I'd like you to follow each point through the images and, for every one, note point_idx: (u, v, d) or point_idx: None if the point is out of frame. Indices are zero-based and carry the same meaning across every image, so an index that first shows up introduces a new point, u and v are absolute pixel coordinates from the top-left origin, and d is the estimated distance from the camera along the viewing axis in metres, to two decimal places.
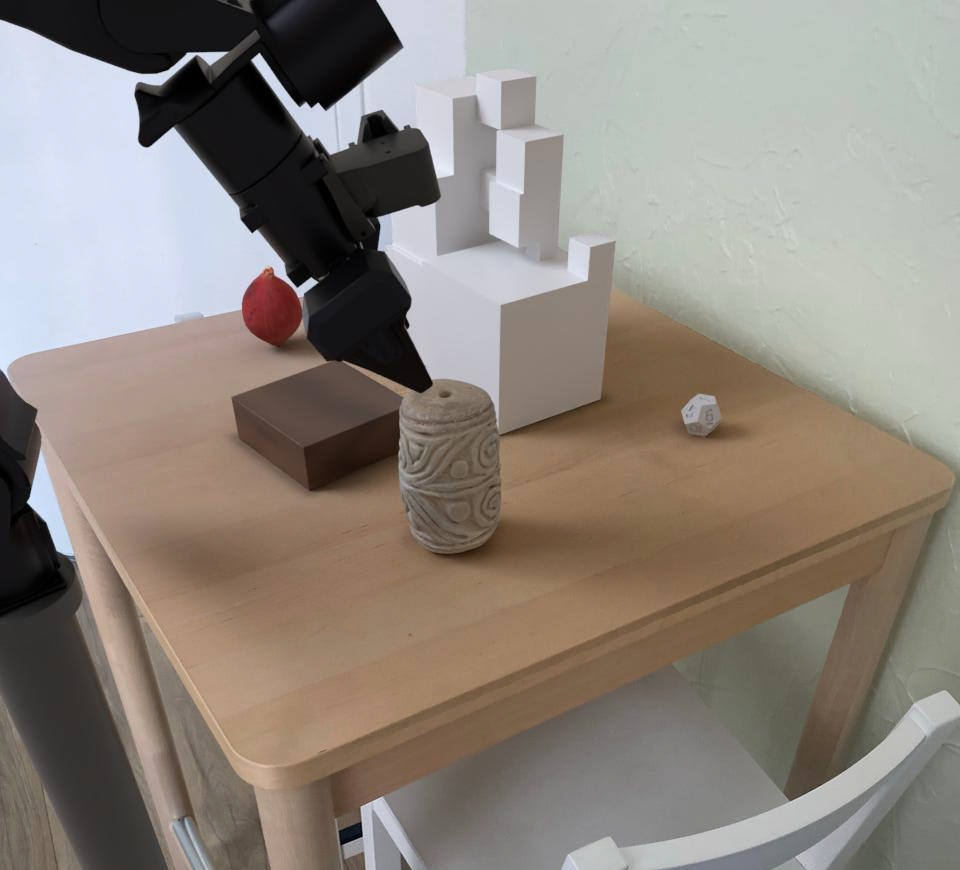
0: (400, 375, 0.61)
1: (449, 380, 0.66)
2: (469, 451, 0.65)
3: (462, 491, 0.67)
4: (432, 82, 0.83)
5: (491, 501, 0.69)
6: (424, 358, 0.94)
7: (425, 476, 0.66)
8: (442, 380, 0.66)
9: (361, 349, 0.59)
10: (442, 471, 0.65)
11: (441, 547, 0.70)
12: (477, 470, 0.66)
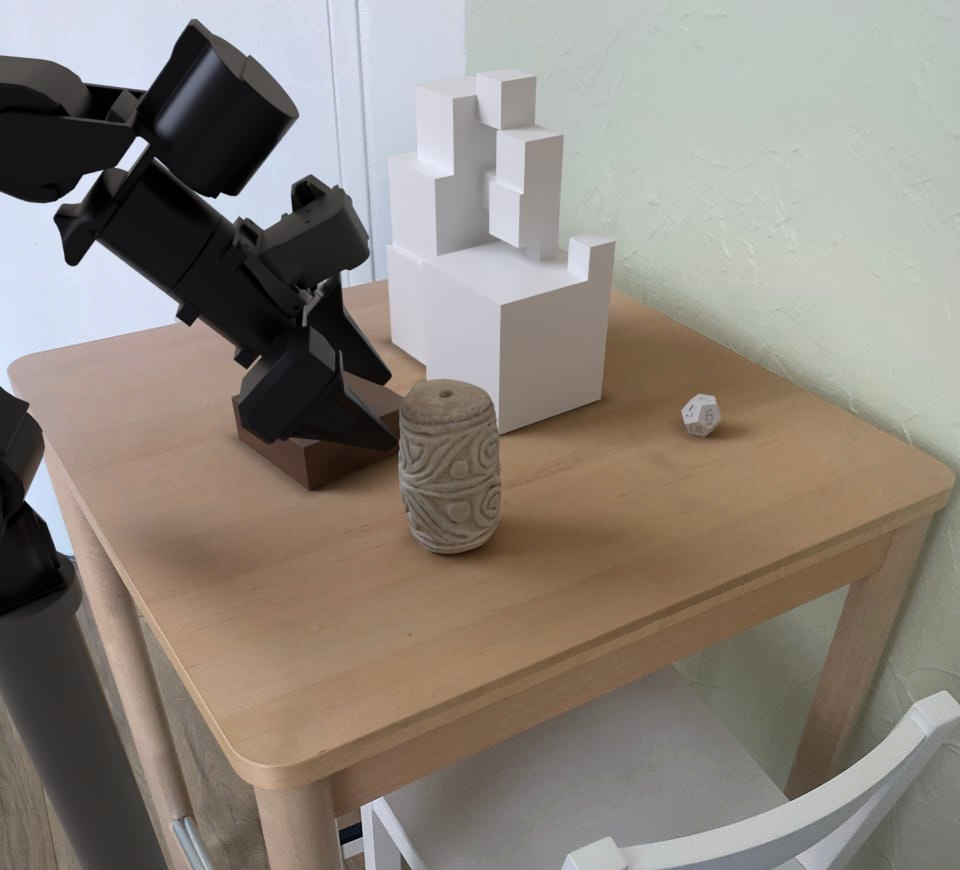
0: (359, 439, 0.60)
1: (449, 380, 0.66)
2: (469, 451, 0.65)
3: (462, 491, 0.67)
4: (432, 82, 0.83)
5: (491, 501, 0.69)
6: (424, 358, 0.94)
7: (425, 476, 0.66)
8: (442, 380, 0.66)
9: (309, 423, 0.58)
10: (442, 471, 0.65)
11: (441, 547, 0.70)
12: (477, 470, 0.66)
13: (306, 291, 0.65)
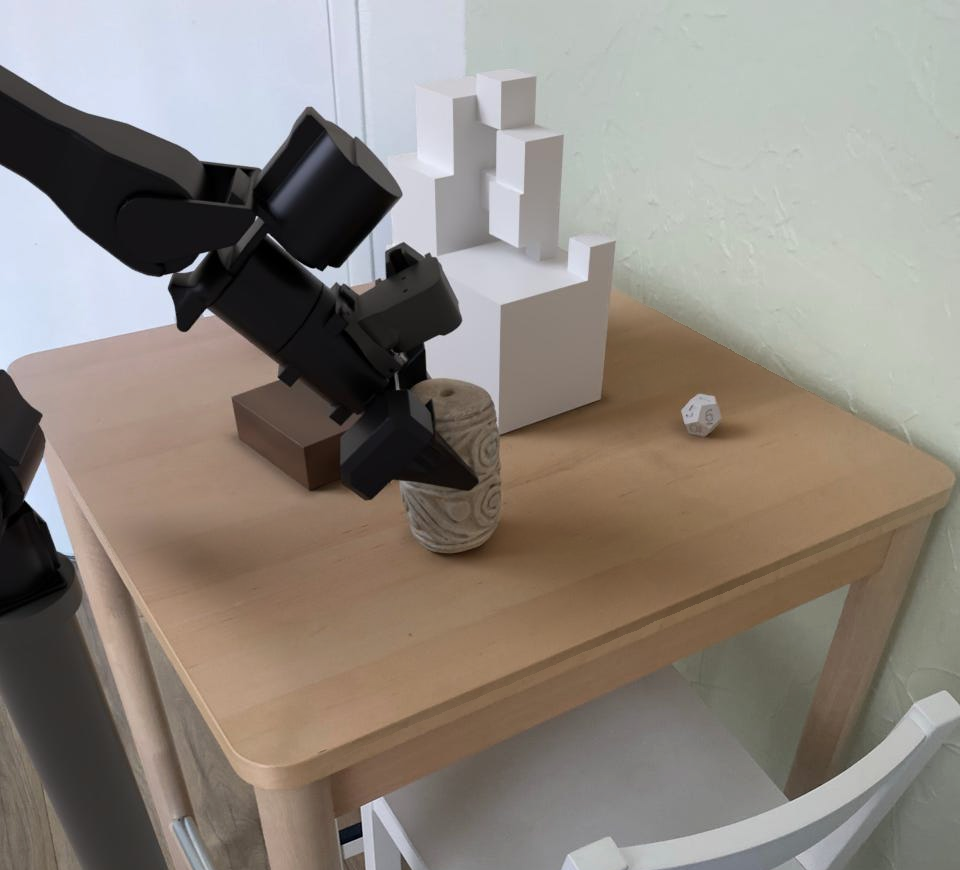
0: (444, 480, 0.65)
1: (449, 379, 0.66)
2: (469, 449, 0.65)
3: None
4: (432, 82, 0.83)
5: (491, 500, 0.69)
6: None
7: None
8: (442, 379, 0.66)
9: None
10: None
11: (441, 546, 0.70)
12: (477, 469, 0.66)
13: None
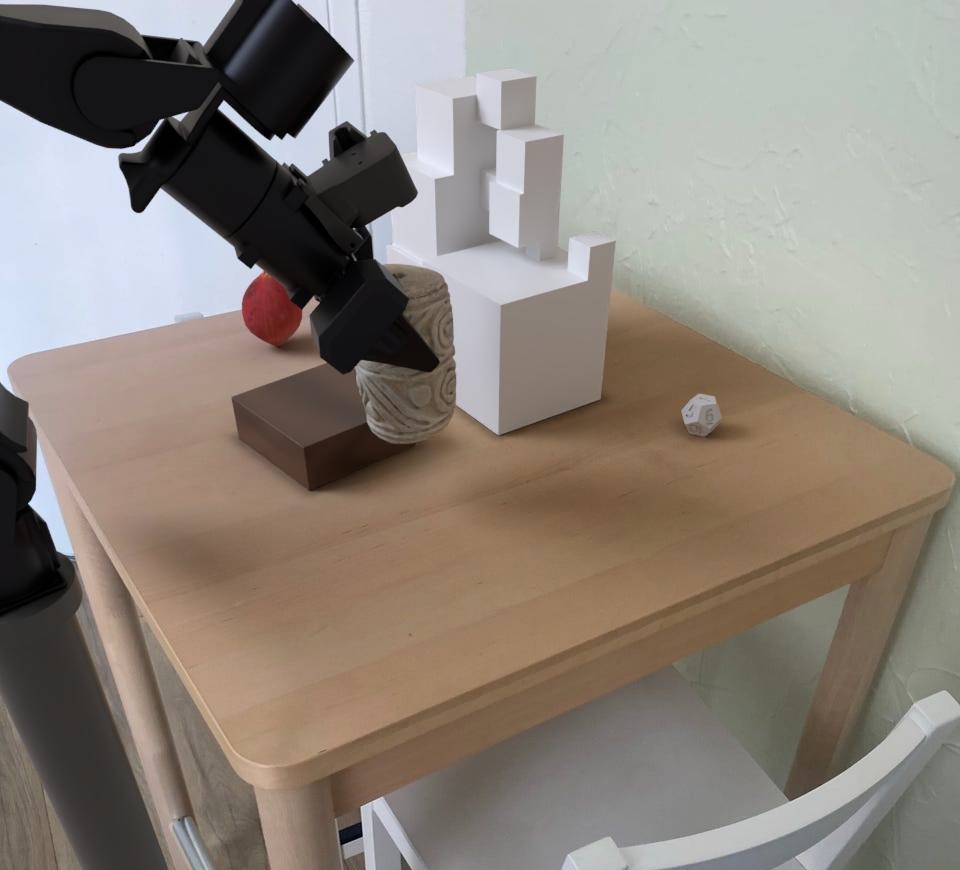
0: (408, 360, 0.65)
1: (399, 264, 0.67)
2: (429, 329, 0.66)
3: (424, 373, 0.67)
4: (432, 82, 0.83)
5: (449, 385, 0.70)
6: None
7: None
8: (392, 264, 0.67)
9: None
10: None
11: (403, 436, 0.71)
12: (437, 350, 0.67)
13: None
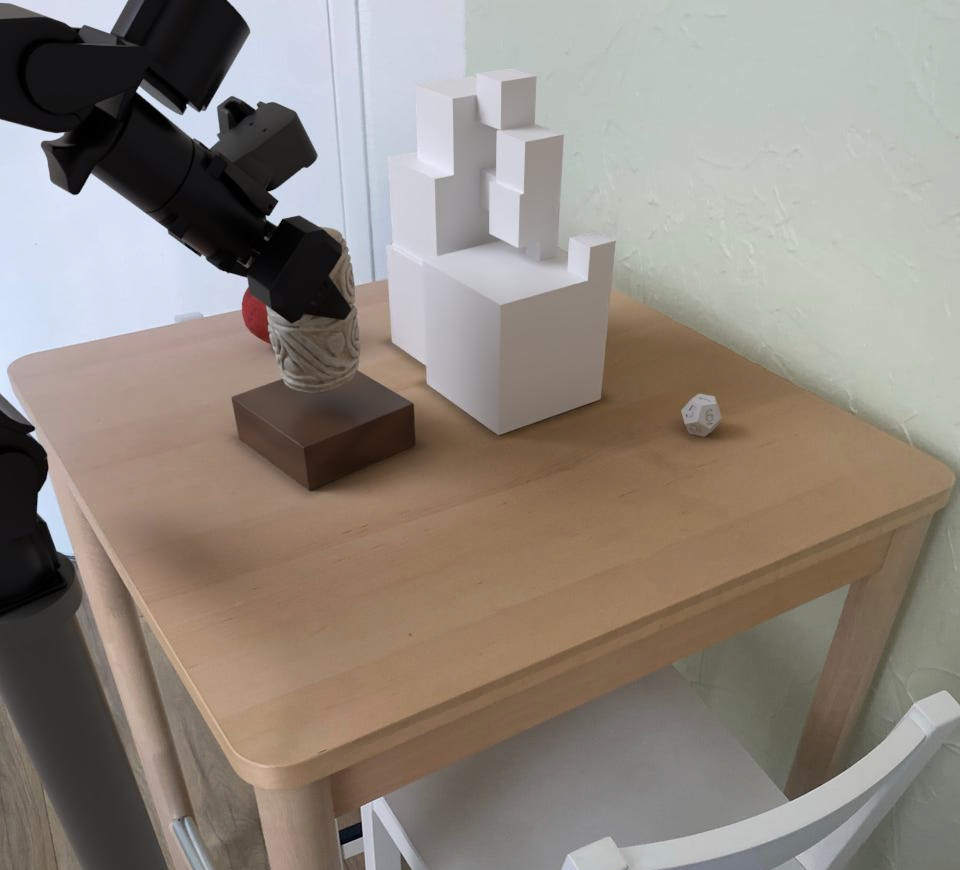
0: (327, 309, 0.72)
1: None
2: (338, 280, 0.72)
3: (338, 321, 0.74)
4: (432, 82, 0.83)
5: (356, 331, 0.77)
6: (424, 358, 0.94)
7: None
8: None
9: None
10: None
11: (324, 384, 0.77)
12: (346, 298, 0.74)
13: None
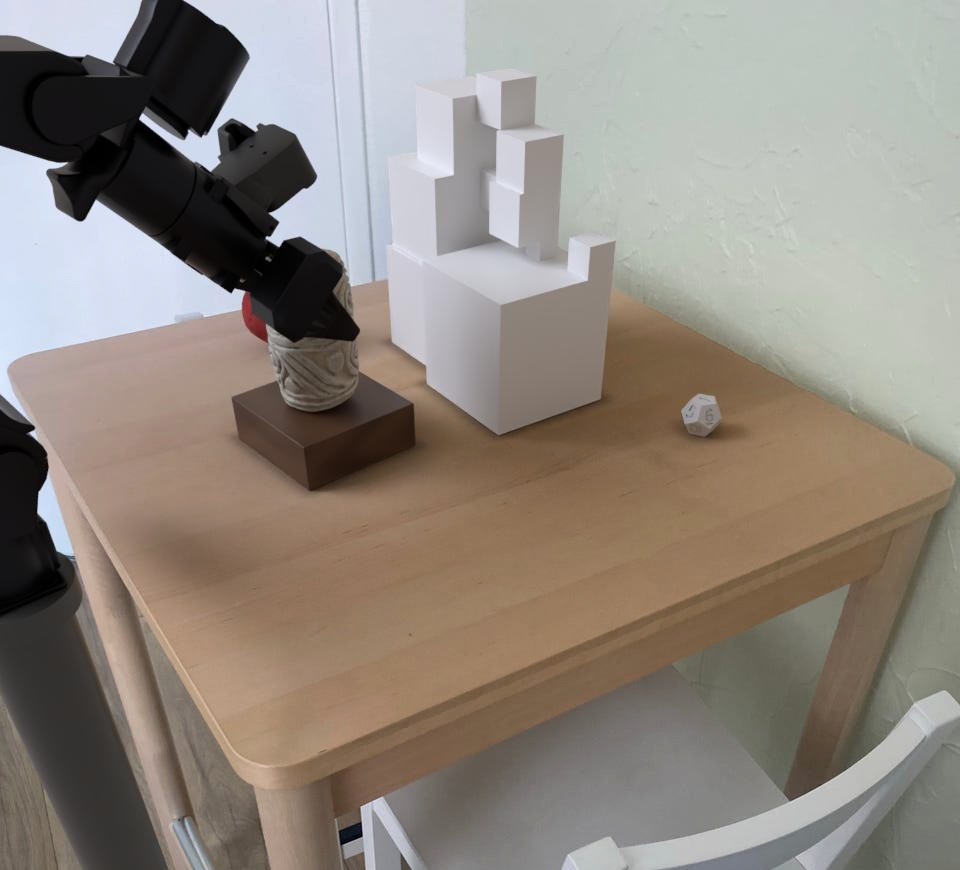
0: (336, 332, 0.72)
1: None
2: None
3: (337, 341, 0.75)
4: (432, 82, 0.83)
5: (355, 350, 0.78)
6: (424, 358, 0.94)
7: None
8: None
9: None
10: None
11: (324, 402, 0.78)
12: None
13: None
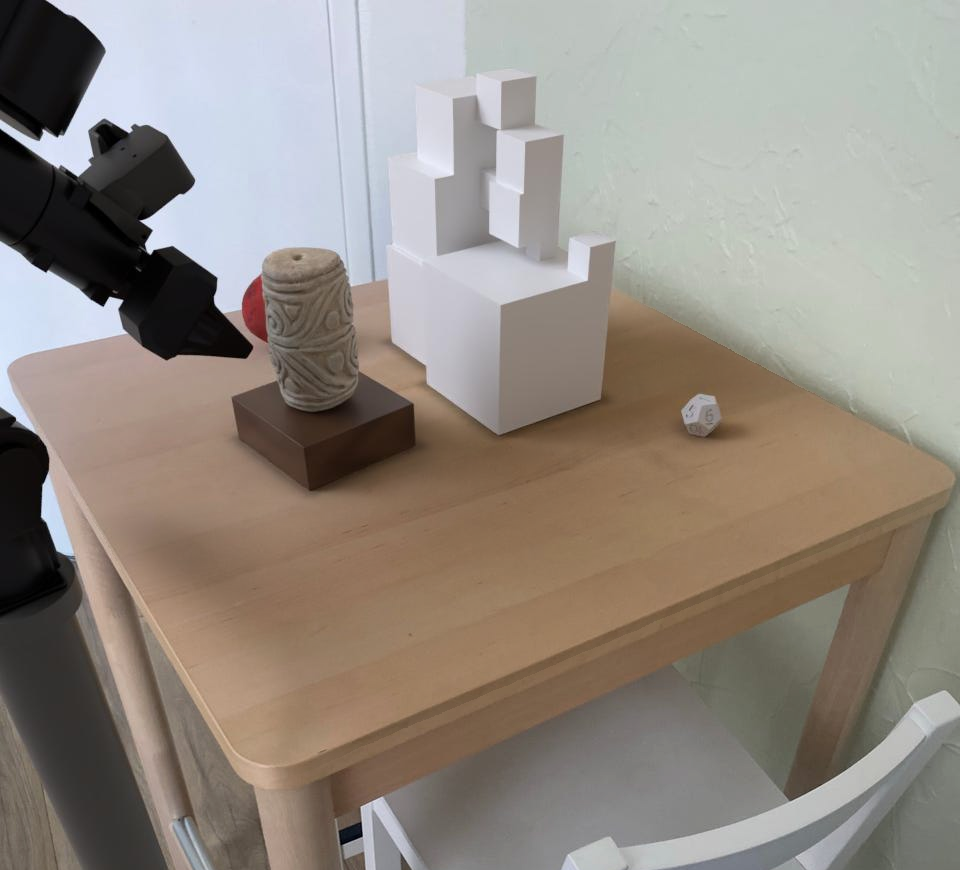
0: (225, 349, 0.67)
1: None
2: (337, 301, 0.73)
3: (337, 341, 0.75)
4: (432, 82, 0.83)
5: (355, 350, 0.78)
6: (424, 358, 0.94)
7: (304, 333, 0.73)
8: (286, 249, 0.74)
9: (186, 339, 0.64)
10: (319, 324, 0.73)
11: (324, 402, 0.78)
12: (345, 319, 0.75)
13: None
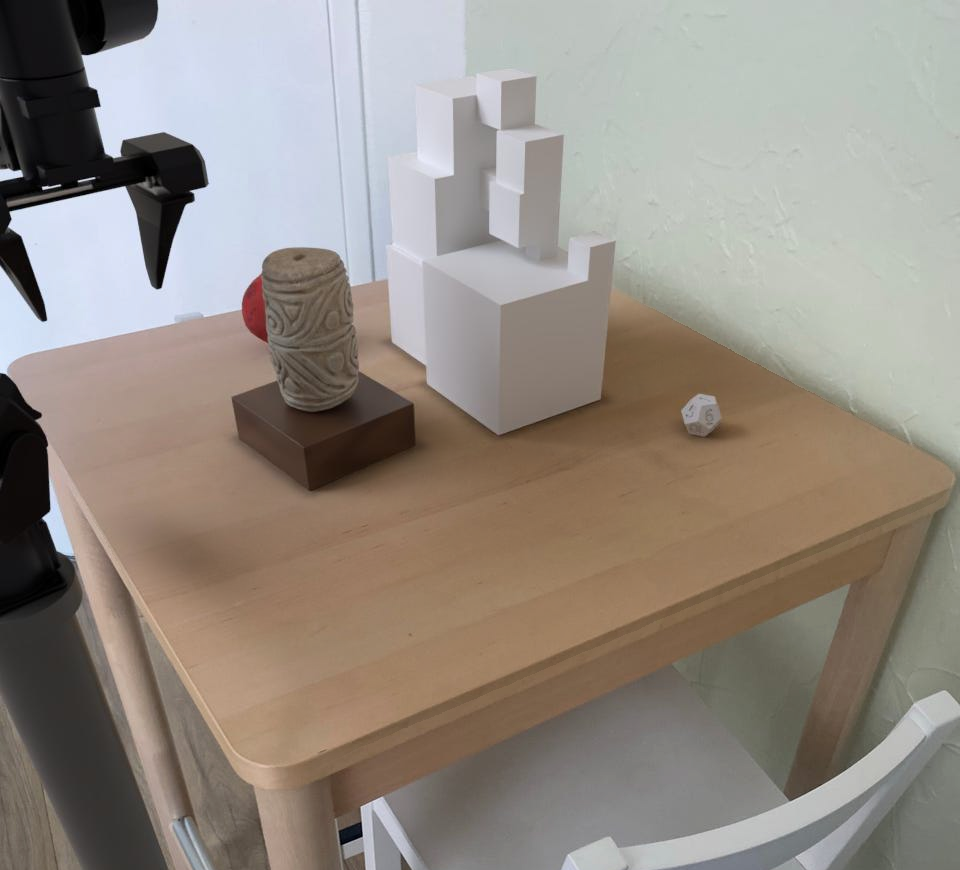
0: None
1: None
2: (337, 301, 0.73)
3: (337, 341, 0.75)
4: (432, 82, 0.83)
5: (355, 350, 0.78)
6: (424, 358, 0.94)
7: (304, 333, 0.73)
8: (286, 249, 0.74)
9: None
10: (319, 324, 0.73)
11: (324, 402, 0.78)
12: (345, 319, 0.75)
13: None
